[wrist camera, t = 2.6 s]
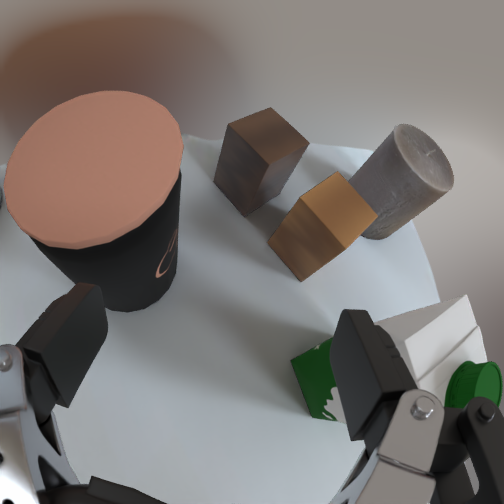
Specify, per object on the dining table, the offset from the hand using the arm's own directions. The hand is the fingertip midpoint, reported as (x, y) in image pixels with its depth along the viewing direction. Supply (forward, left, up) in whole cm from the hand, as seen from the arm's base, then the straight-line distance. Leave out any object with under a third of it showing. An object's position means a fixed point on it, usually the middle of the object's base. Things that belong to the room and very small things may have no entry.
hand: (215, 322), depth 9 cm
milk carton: (+12, +9, -21) cm, 26 cm away
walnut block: (-11, +17, -20) cm, 29 cm away
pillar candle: (+1, +30, -21) cm, 37 cm away
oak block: (-1, +17, -20) cm, 27 cm away
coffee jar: (-11, 0, -21) cm, 23 cm away
